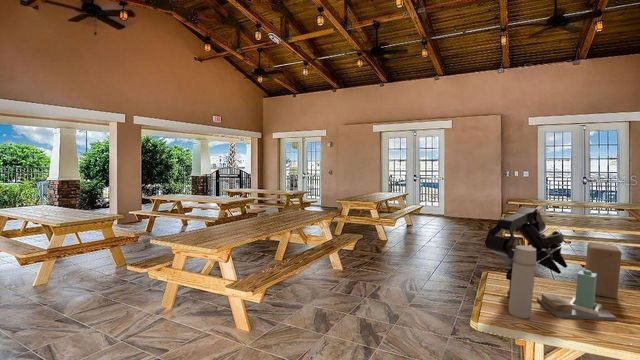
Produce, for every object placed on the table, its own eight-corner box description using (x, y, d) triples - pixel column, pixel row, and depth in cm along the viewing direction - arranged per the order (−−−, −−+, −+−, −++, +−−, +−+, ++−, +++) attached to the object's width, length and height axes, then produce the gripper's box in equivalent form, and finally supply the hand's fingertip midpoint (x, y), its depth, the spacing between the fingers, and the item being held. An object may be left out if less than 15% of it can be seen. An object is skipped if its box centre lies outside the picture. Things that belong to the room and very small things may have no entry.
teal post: (574, 307, 129) (577, 270, 128) (577, 302, 132) (580, 267, 131) (591, 311, 125) (594, 274, 124) (594, 307, 129) (597, 271, 127)
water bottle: (534, 321, 120) (541, 252, 118) (509, 317, 123) (515, 249, 120) (527, 309, 129) (533, 244, 126) (503, 306, 131) (509, 242, 129)
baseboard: (557, 317, 123) (557, 310, 123) (537, 299, 137) (537, 294, 137) (616, 320, 121) (617, 314, 121) (589, 302, 135) (590, 296, 135)
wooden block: (617, 299, 138) (622, 251, 136) (586, 294, 143) (590, 247, 141) (612, 291, 147) (617, 245, 145) (583, 285, 152) (587, 241, 150)
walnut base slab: (554, 310, 126) (554, 304, 126) (541, 299, 135) (541, 293, 134) (571, 311, 125) (572, 305, 125) (557, 300, 134) (558, 294, 134)
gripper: (543, 229, 129) (576, 265, 122) (556, 221, 141) (588, 254, 134) (518, 245, 135) (549, 280, 128) (534, 236, 148) (562, 268, 141)
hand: (563, 270), depth 133 cm, fingers open, 9 cm apart
